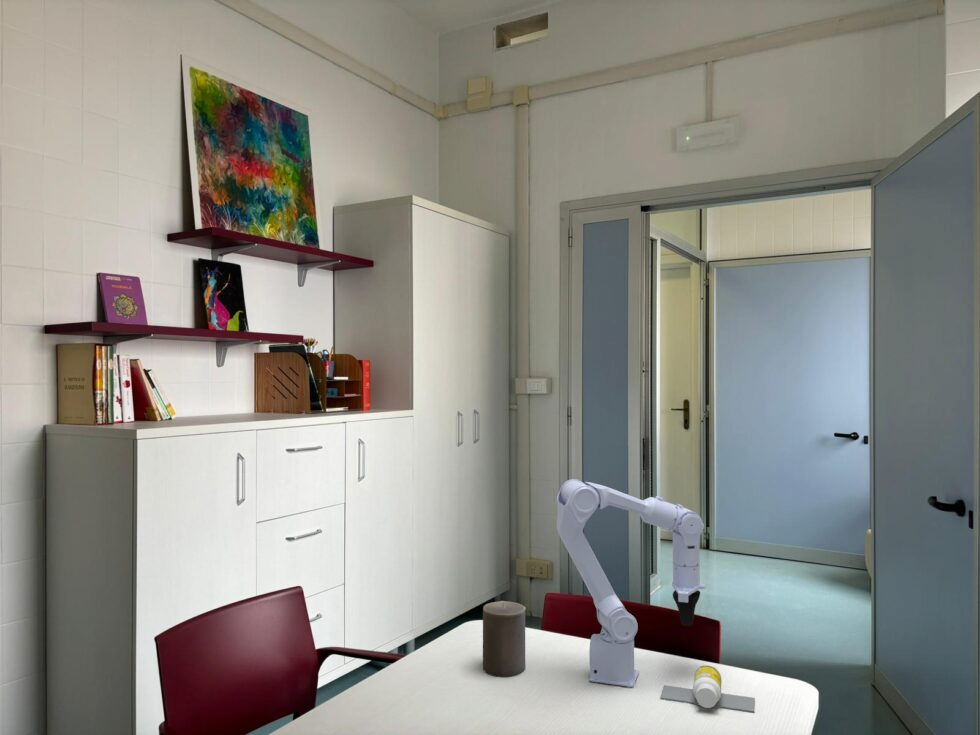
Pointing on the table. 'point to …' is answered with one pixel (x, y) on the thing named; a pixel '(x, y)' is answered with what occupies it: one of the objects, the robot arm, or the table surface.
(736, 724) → the table surface
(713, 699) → the supplement bottle
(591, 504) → the robot arm
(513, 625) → the pillar candle
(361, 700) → the table surface
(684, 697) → the mat
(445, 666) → the table surface
